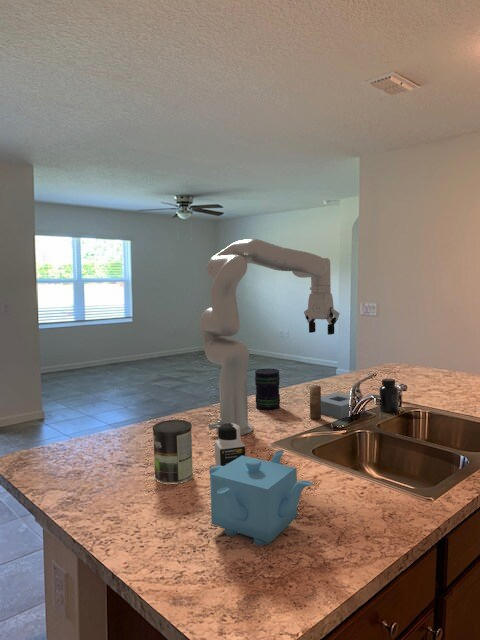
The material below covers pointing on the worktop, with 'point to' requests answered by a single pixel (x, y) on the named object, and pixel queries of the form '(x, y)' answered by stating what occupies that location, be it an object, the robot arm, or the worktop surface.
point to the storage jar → (267, 389)
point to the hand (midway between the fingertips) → (321, 333)
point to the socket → (336, 405)
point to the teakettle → (255, 497)
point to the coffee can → (173, 451)
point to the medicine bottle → (228, 444)
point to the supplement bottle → (389, 396)
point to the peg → (315, 402)
